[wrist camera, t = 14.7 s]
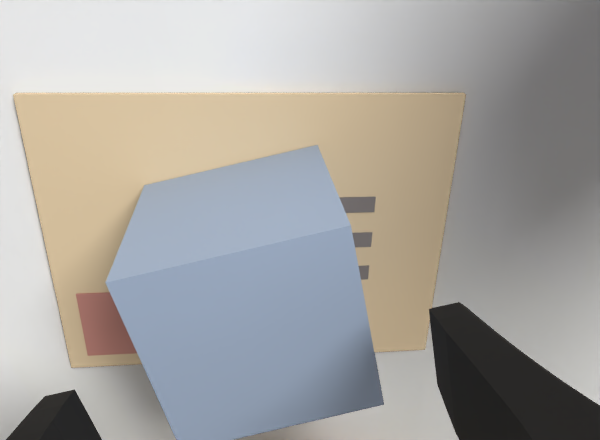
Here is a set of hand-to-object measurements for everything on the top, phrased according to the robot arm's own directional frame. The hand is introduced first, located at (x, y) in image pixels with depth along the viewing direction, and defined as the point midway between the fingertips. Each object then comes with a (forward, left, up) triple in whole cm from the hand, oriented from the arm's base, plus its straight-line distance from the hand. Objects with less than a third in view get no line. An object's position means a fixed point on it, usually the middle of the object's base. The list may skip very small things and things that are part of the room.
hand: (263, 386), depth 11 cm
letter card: (0, 0, -6) cm, 6 cm away
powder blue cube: (0, 0, -6) cm, 6 cm away
